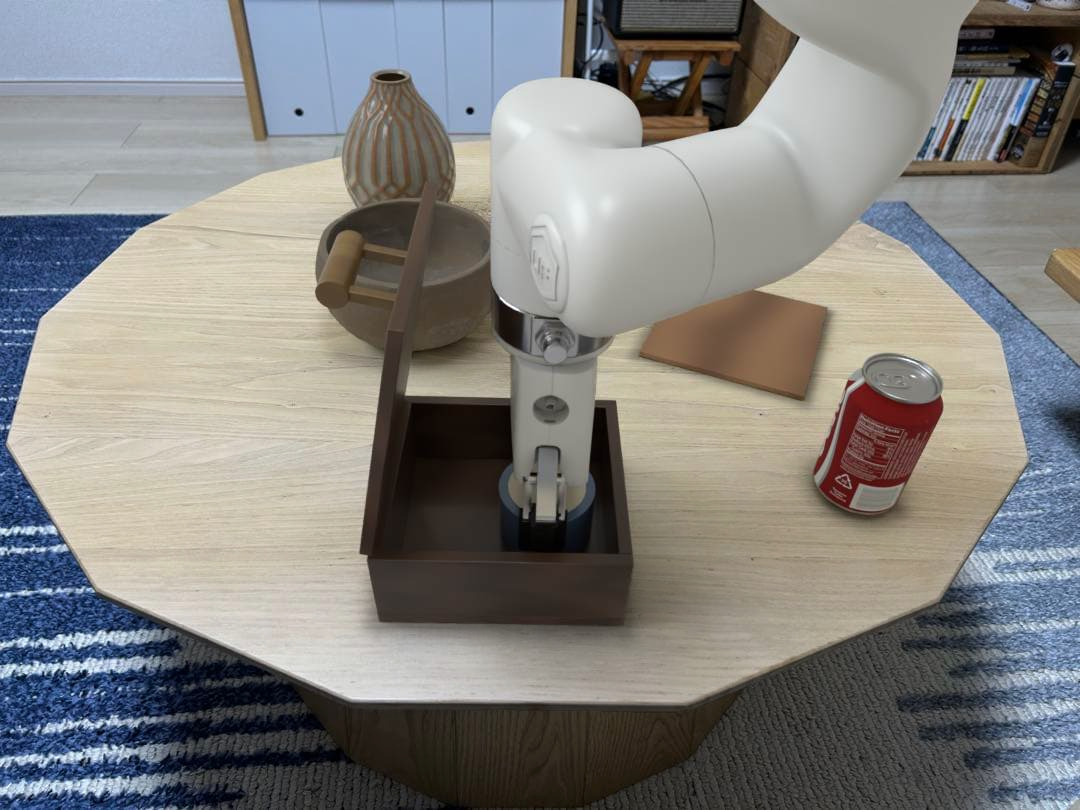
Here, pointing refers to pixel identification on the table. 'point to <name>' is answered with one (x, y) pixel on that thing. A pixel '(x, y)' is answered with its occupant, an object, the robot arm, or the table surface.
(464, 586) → the chest
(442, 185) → the vase
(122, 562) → the table surface
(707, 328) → the plate
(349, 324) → the bowl
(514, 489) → the blue beige short cylinder
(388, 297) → the lid
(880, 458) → the soda can
